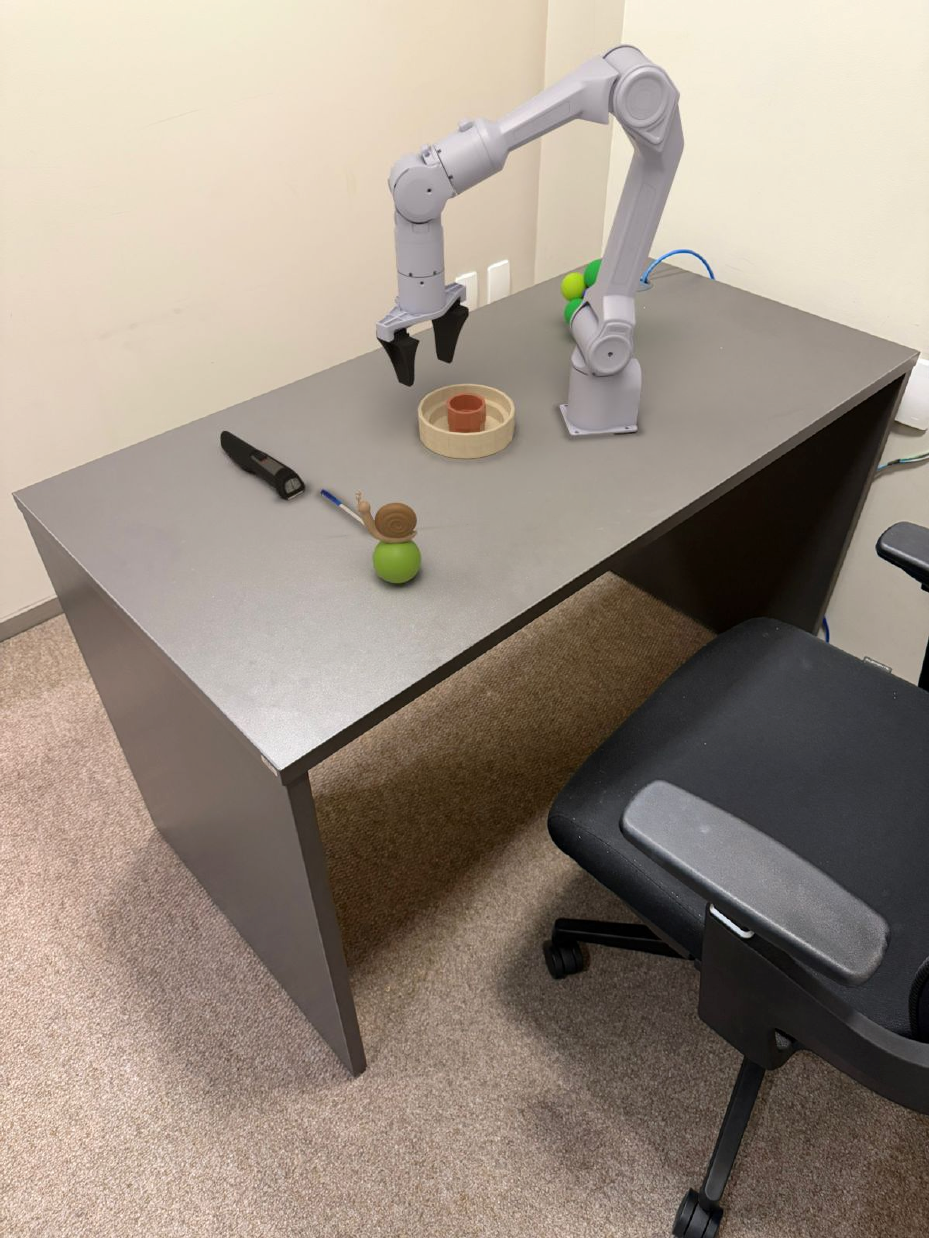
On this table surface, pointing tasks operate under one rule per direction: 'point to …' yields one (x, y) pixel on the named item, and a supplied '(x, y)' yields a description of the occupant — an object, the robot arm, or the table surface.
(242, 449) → the electric trimmer
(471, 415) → the terracotta pot
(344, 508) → the ballpoint pen
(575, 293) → the molecule model
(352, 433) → the table surface
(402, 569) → the snail figurine
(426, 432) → the cream bowl
